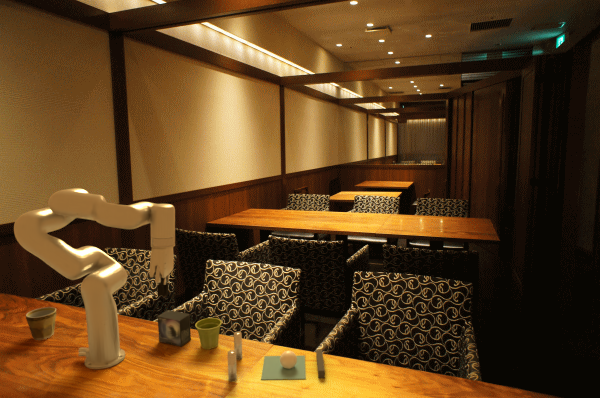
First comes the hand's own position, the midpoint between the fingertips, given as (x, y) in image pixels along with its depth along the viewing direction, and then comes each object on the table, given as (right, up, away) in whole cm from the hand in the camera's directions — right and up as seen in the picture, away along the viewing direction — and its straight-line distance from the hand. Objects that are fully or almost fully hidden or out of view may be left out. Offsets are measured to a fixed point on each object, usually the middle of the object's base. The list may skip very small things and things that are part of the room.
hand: (163, 294), depth 133 cm
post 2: (+25, -23, +5) cm, 34 cm away
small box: (-1, -22, +17) cm, 28 cm away
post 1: (+25, -25, -8) cm, 36 cm away
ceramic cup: (-56, -22, +23) cm, 64 cm away
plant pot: (+13, -22, +14) cm, 29 cm away
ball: (+42, -21, -2) cm, 47 cm away
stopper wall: (+53, -23, -1) cm, 58 cm away
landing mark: (+41, -24, -2) cm, 47 cm away
